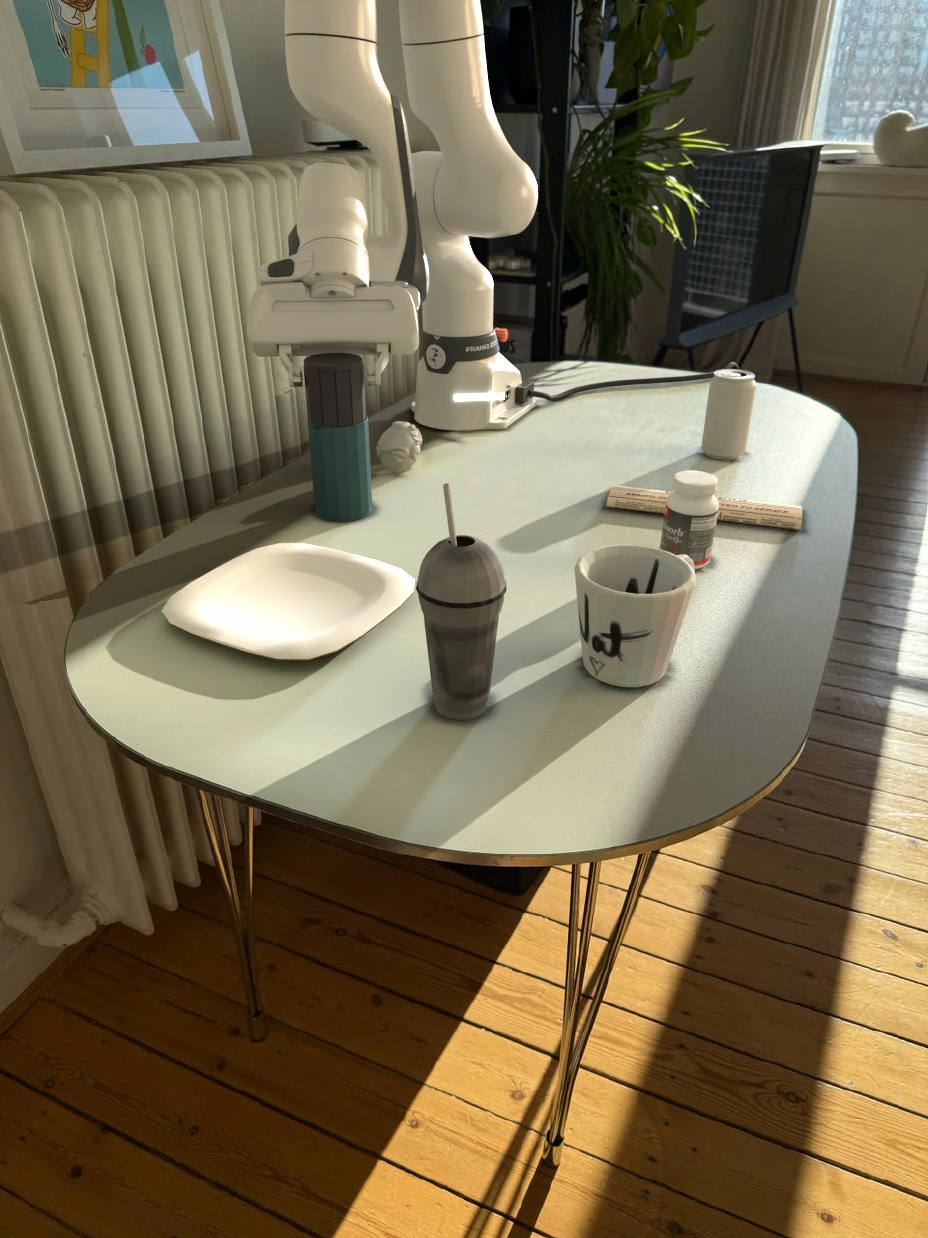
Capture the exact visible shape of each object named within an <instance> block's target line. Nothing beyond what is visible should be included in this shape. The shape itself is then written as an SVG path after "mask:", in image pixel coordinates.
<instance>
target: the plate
mask: <svg viewBox="0 0 928 1238" xmlns="http://www.w3.org/2000/svg"><path fill="white" fill-rule="evenodd" d="M415 584H416V578H414V577H412V576H411V575H410V574H409V573H407V572H406V571H405V570H404V569H403V568H400V567H398V566H394V565H392V564H389V563H387V562H384V561H381V560H377V559H375V558H374V559H373V558H371V557H366V556H363V555H360V554H356V553H351V552H347V551H344V550H340V549H336V548H331V547H327V546H321V545H316V544H310V543H304V542H289V543H288V542H278V543H274V544H270V545H266V546H262V547H258V548H254V549H252V550H250V551H248V552H246V553H243V554H240V555H238V556H236V557H234V558H232V559H230V560H228V561H227V562H225V563H223V564H221V565H220V566H217V567H215V568H214V569H212V570H210V571H209V572H207V573H205V574H203V575H202V576H200V577H198V578H197V579H195V580H193V581H190V582H189V583H188V584H186V585H185V586H184V587H182V588H181V589H180V590H178V591H176V592H175V593H174V594H172V595H171V596H170V597H169V598H168V599H167V601H166V602H165V604H164V606H163V608H162V609H161V614H162V615H163V616H164V618H165V619H166V621H167V623H169V625H170V626H172V627H175V628H177V629H179V630H181V631H183V632H185V633H187V634H189V635H191V636H193V637H197V638H200V639H202V640H205V641H208V642H211V643H212V644H213V643H214V644H216V645H219V646H221V647H222V646H223V647H225V648H228V649H232V650H234V651H237V652H241V653H244V654H247V655H251V656H256V657H260V658H264V659H269V660H274V661H276V662H310V661H314V660H316V659H320V658H323V657H327V656H330V655H334V654H336V653H338V652H340V651H342V650H344V649H345V648H347V647H348V646H350V645H352V644H353V643H355V642H357V641H358V640H360V639H362V638H363V637H364V636H366V635H367V634H368V633H370V632H371V631H372V630H373V629H375V628H376V627H377V626H379V625H380V624H381V623H383V622H384V621H385V620H386V619H387V618H389V617H391V616H392V614H394V613H395V612H396V611H397V610H399V609H400V608H401V607H402V606H403V605H404V604H405V603H406V602H407V601H408V600H409V599H410V597H412V596H413V594H414V591H415Z"/></svg>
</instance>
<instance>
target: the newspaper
mask: <svg viewBox="0 0 928 1238" xmlns="http://www.w3.org/2000/svg"><path fill="white" fill-rule="evenodd" d="M672 492H673V491H667V490H660V489H659V490H658V489H651V488H650V489H649V488H643V487H642V488H641V487H634V486H625V485H615V484H613V485H612V486H611V487H610V490H609V492H608V495H607V498H606V504H605V505H606V508H613V509H622V510H630V511H640V512H647V513H656V514H664V513H665V506H666V500H667V497H668V496H669V495H670V494H671V493H672ZM715 497H716V499H717V500H718V503H719V508H718V515H717V521H721V522H729V523H731V522H732V523H739V524H747V525H756V526H763V527H773V528H780V529H781V528H783V529H790V530H798V531H801V529H802V524H803V507H802V506H801V505H791V504H783V503H774V502H766V501H765V502H764V501H756V500H748V499H738V498H732V497H731V498H730V497H722V496H721V497H720V496H715Z"/></svg>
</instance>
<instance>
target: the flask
mask: <svg viewBox="0 0 928 1238" xmlns="http://www.w3.org/2000/svg"><path fill="white" fill-rule="evenodd" d="M369 429H370V428H369V418H368V414H366V418H365V419H364V421H363V422H360V423H357V424H355V425H350V426H342V427H339V426H338V427H324V426H319V425H315V424H312V423H311V422H310V421H309V420H308V417H307V430H308V441H309V452H310V466H311V478H312V489H313V490H312V491H313V503H314V512H315V515H316V516H317V517H318V518H320V519H321V520H325V521H330V522H342V523H343V522H344V523H345V522H353V521H358V520H361V519H363V518H366V517H368V516H369V515H371V513H372V512H373V491H372V489H373V488H372V472H371V453H370V451H371V450H370V432H369V431H370V430H369Z"/></svg>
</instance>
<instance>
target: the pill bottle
mask: <svg viewBox="0 0 928 1238" xmlns="http://www.w3.org/2000/svg"><path fill="white" fill-rule="evenodd" d="M718 482H719V480H718V477H717V476H715V475H714V474H712V473H709V472H705V471H701V470H689V469H688V470H680V471H678V472H676V473H675V474H674V475H673V480H672V488H673V489H674V490H673V491H671V492H672V493H671V494H670V495H669V496H668V497H667V500H666V506H665V513H664V515H663V522H662V530H661V537H660V544H659V549H660V550H663V551H667V552H670V553H672V554H674V555H688V556H689V557H690V558H691V559H692V560H693V563H694V569H695V570H698V569H701V568H704V567H706V566H707V565H708V564H709V563H710V561H711V558H712V550H713V545H714V538H715V533H716V528H717V521H718V520H717V515H718V508H719V503H718V500H717V499H716V497H717V496H715V495H714V494H715V493H716V492H717V490H718V484H719V483H718Z"/></svg>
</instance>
